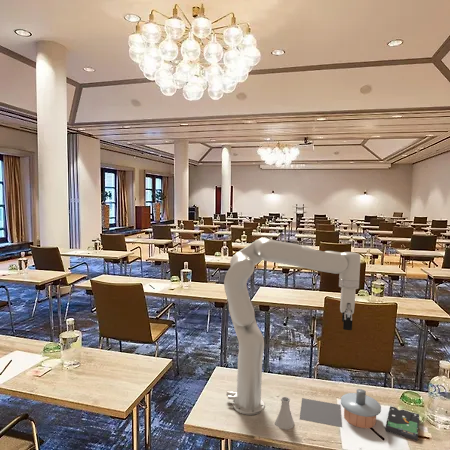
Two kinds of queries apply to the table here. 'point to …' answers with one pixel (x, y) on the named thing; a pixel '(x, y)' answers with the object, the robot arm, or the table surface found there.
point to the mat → (321, 412)
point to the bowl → (359, 420)
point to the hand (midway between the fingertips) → (346, 325)
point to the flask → (285, 415)
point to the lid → (360, 404)
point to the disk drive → (403, 423)
